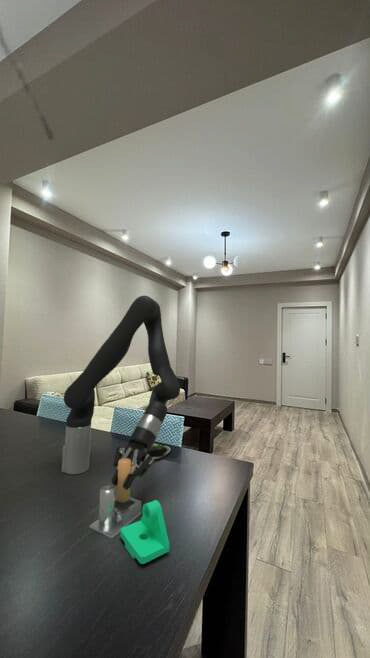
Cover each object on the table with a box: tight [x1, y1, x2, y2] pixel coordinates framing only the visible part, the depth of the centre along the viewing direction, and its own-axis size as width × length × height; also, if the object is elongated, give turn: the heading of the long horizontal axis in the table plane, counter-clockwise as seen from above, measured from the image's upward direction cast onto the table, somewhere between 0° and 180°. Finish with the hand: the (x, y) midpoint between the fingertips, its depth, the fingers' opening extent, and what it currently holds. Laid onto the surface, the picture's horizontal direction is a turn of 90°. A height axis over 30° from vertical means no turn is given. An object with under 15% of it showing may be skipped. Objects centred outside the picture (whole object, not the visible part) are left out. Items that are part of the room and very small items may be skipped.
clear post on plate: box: [89, 484, 142, 539], centre depth 82 cm, size 12×8×11 cm, turn 151°
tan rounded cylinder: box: [116, 458, 132, 502], centre depth 84 cm, size 4×4×11 cm
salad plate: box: [149, 442, 172, 462], centre depth 130 cm, size 19×18×5 cm
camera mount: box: [119, 499, 170, 565], centre depth 73 cm, size 12×8×10 cm, turn 37°
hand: (119, 486), depth 83 cm, fingers closed on tan rounded cylinder, 3 cm apart
